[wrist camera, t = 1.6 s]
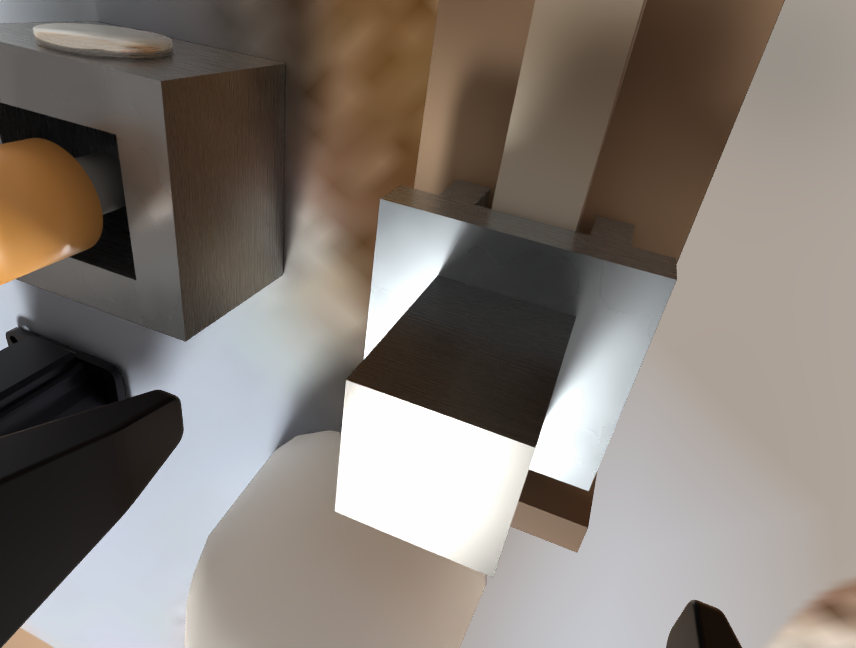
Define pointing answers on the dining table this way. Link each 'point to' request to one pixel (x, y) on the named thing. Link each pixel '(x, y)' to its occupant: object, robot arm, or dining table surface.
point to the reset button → (52, 203)
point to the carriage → (488, 365)
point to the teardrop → (320, 570)
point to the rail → (638, 156)
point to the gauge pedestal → (157, 165)
